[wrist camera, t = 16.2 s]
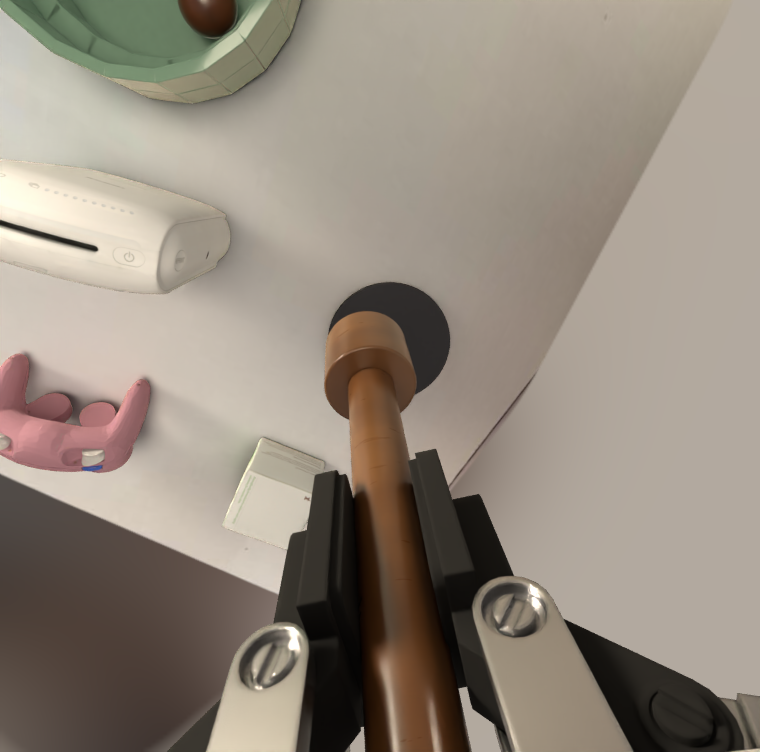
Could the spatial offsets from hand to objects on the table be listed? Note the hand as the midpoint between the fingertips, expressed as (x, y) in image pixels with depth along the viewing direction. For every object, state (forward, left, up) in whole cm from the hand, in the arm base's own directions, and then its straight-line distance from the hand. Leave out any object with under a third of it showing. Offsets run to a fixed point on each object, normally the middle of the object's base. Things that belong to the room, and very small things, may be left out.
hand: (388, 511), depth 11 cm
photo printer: (+12, -9, -23) cm, 28 cm away
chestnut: (+4, -18, -21) cm, 28 cm away
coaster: (-1, +3, -23) cm, 23 cm away
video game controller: (+22, +2, -23) cm, 32 cm away
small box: (+10, +12, -23) cm, 28 cm away
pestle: (0, -2, -8) cm, 8 cm away
